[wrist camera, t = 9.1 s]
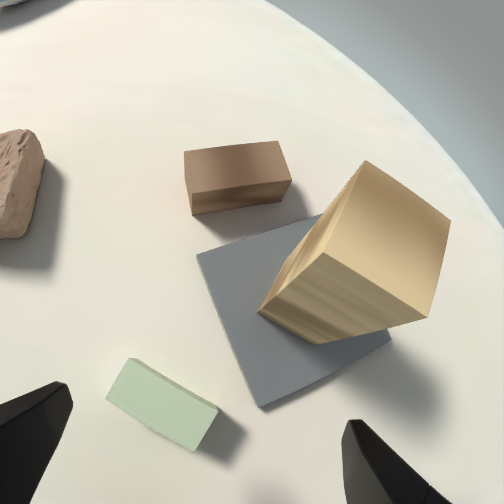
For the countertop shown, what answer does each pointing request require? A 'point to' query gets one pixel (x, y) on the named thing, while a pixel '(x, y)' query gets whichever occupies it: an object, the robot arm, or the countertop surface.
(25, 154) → the brick
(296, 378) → the slate coaster
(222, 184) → the walnut brick
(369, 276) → the oak post
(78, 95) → the countertop surface
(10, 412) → the robot arm
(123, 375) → the sage brick
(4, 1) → the ramen bowl
